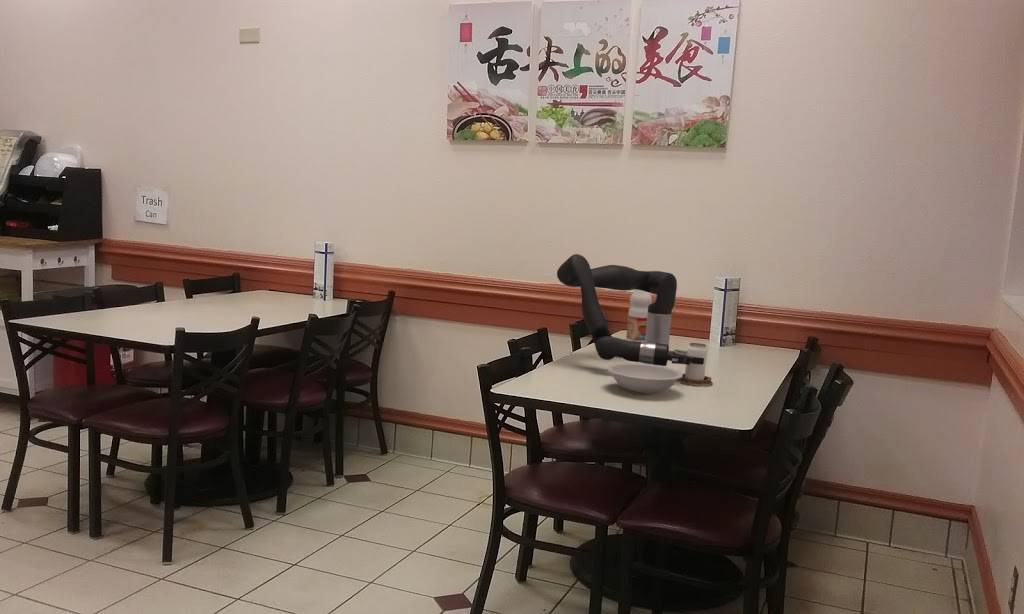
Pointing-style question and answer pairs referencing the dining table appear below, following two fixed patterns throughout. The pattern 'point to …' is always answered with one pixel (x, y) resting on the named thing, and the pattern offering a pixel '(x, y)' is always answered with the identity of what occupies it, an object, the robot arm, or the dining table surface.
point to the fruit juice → (638, 316)
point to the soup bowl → (644, 376)
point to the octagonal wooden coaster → (695, 381)
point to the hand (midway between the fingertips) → (704, 359)
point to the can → (696, 369)
